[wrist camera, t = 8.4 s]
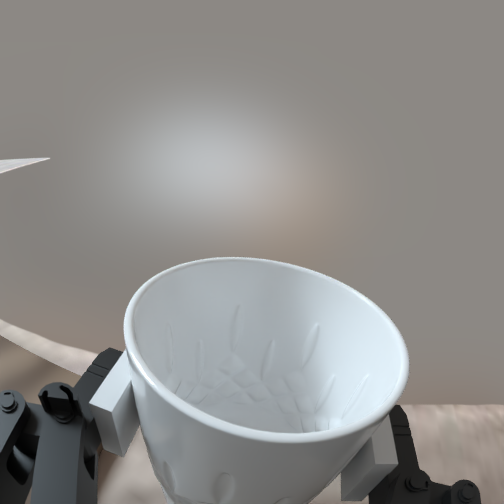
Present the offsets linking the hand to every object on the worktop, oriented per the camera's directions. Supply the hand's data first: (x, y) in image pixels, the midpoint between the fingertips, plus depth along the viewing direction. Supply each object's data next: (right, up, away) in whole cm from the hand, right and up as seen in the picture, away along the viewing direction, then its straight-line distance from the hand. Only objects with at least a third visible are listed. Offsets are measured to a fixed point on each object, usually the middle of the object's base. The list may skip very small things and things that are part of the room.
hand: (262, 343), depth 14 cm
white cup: (-1, -7, -1) cm, 7 cm away
